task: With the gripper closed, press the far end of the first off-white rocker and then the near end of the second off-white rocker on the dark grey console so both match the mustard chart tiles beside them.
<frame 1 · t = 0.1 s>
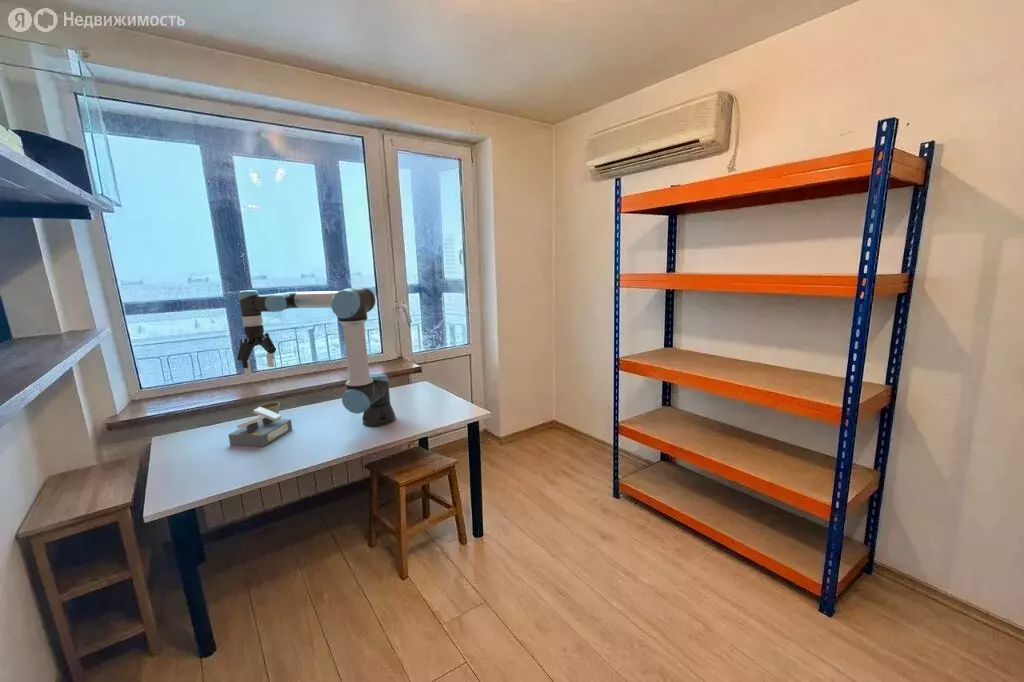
hand: (260, 370, 189), 28 cm above the table, fingers open, 13 cm apart
flower pot: (271, 422, 201), on the table
rocker B: (251, 421, 177), point 9 cm above the table, hinge at 20.0°
console: (262, 437, 183), on the table
rocker A: (267, 413, 186), point 9 cm above the table, hinge at -20.0°
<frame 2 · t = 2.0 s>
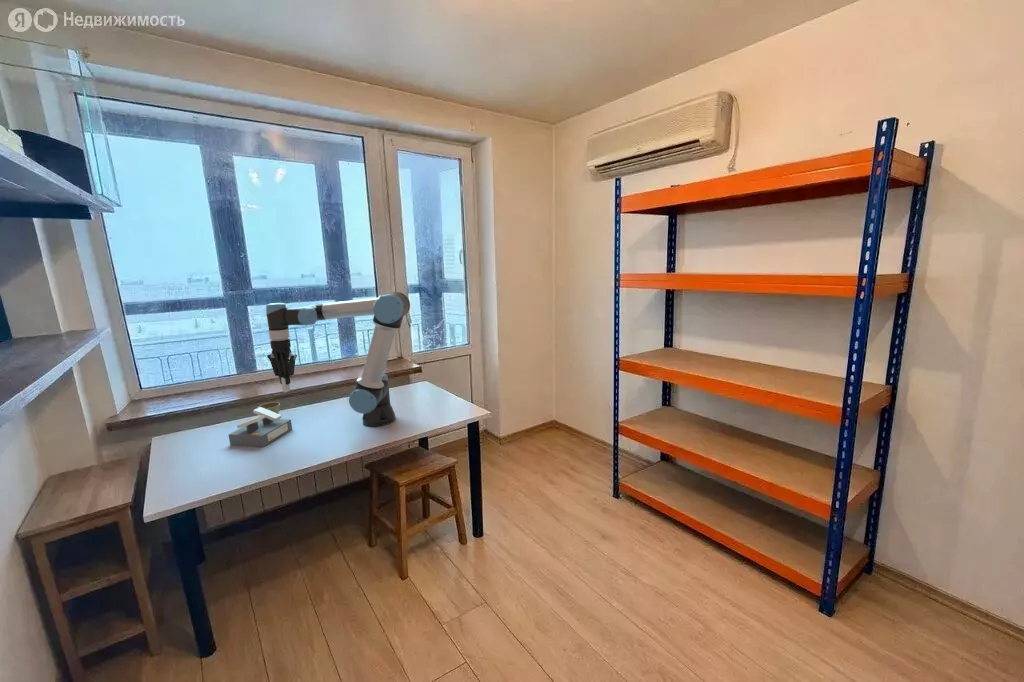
hand: (286, 391, 182), 20 cm above the table, fingers closed
nothing on the table moved.
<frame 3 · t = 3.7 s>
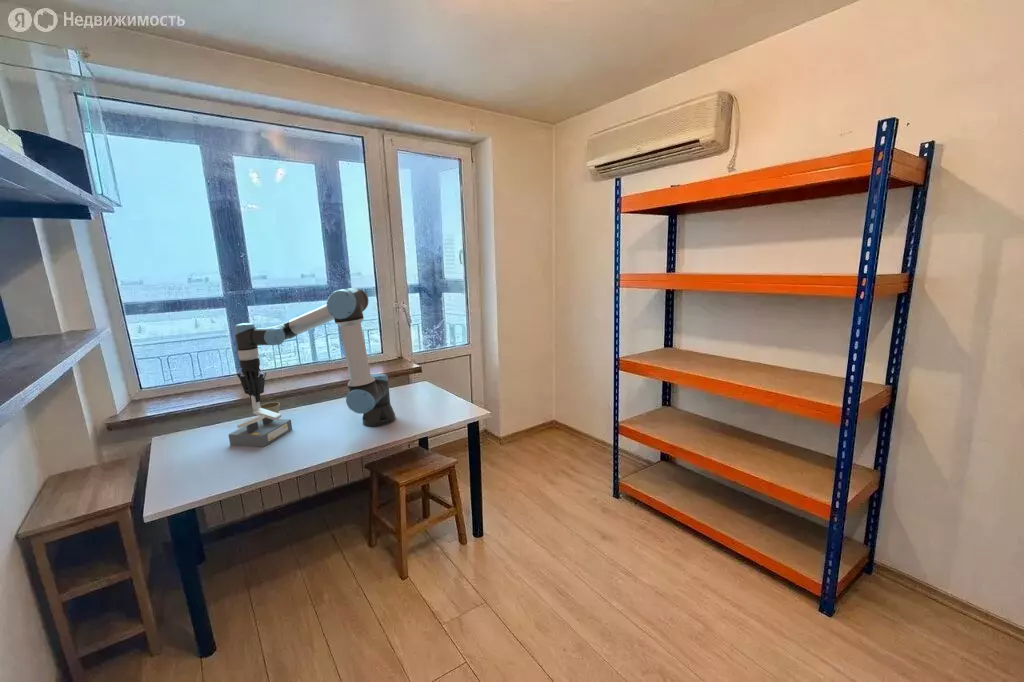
hand: (256, 408, 186), 12 cm above the table, fingers closed
rocker A: (267, 413, 186), point 9 cm above the table, hinge at -15.0°, touching gripper
everything else where it was.
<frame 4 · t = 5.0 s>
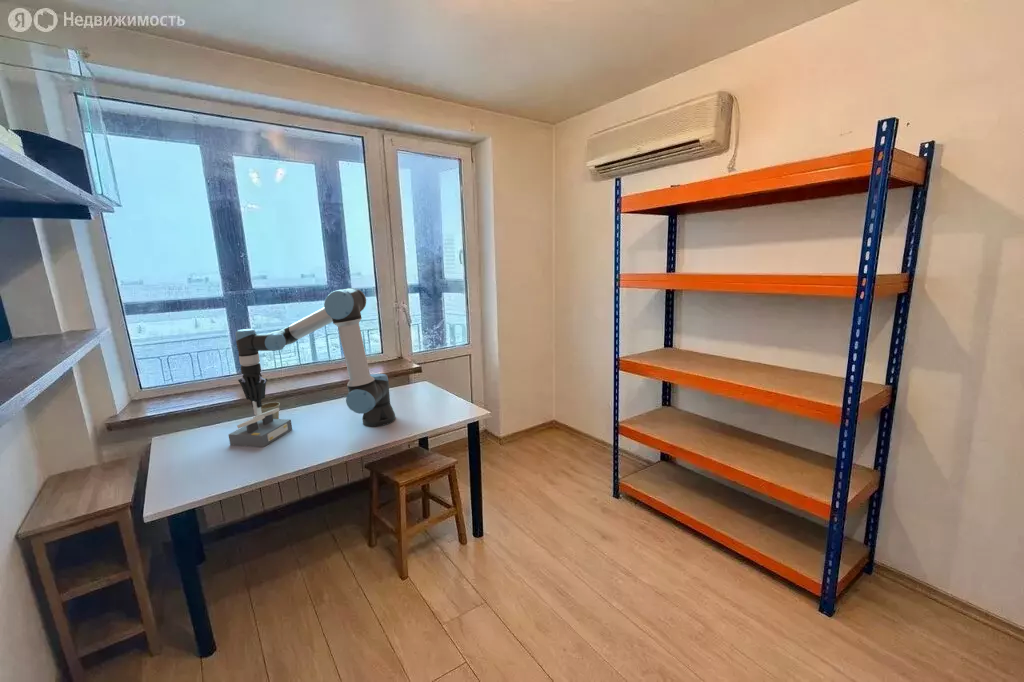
hand: (258, 414, 187), 9 cm above the table, fingers closed
rocker A: (266, 413, 186), point 9 cm above the table, hinge at 19.3°
everything else where it was.
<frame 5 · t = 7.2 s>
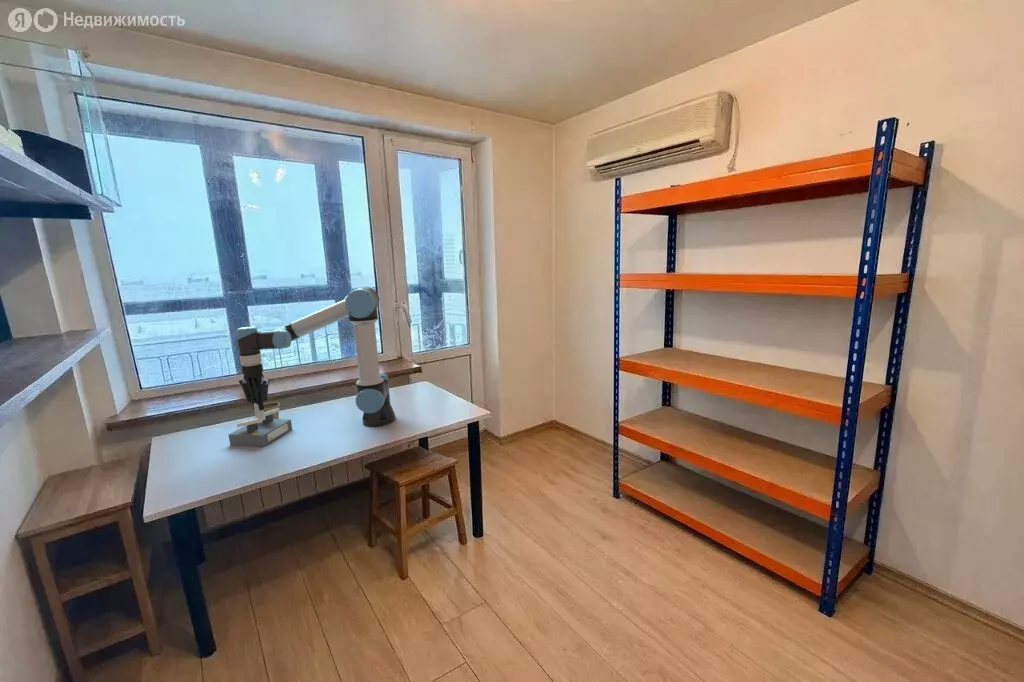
hand: (259, 417, 176), 12 cm above the table, fingers closed
rocker B: (251, 421, 177), point 9 cm above the table, hinge at 13.5°
everything else where it was.
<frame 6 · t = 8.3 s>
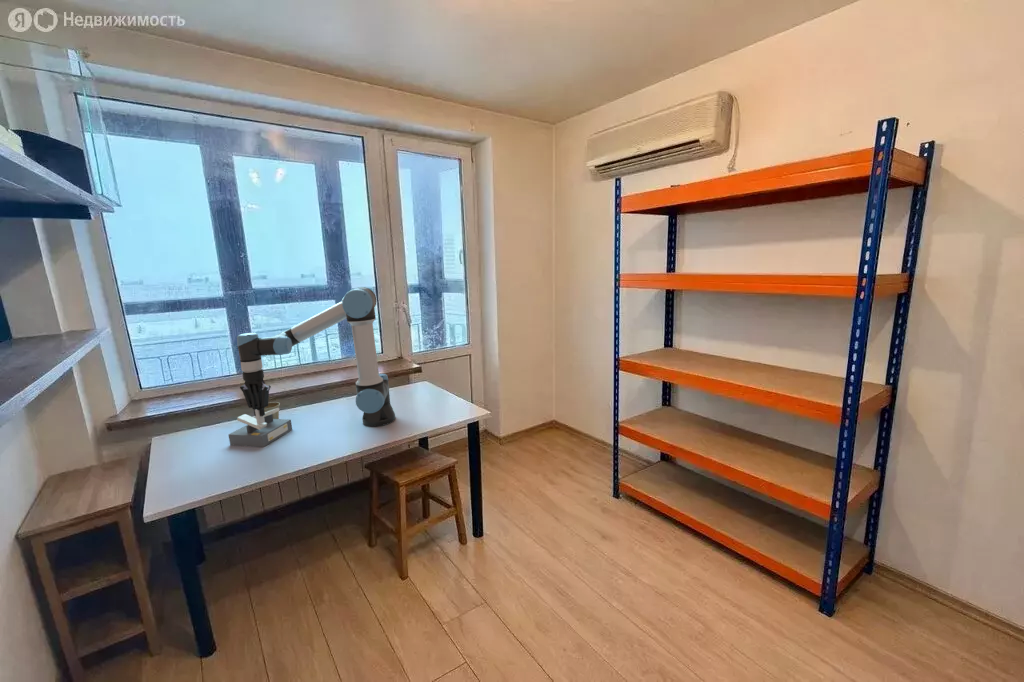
hand: (261, 422, 177), 9 cm above the table, fingers closed
rocker B: (252, 421, 177), point 9 cm above the table, hinge at -20.9°, touching gripper
everything else where it was.
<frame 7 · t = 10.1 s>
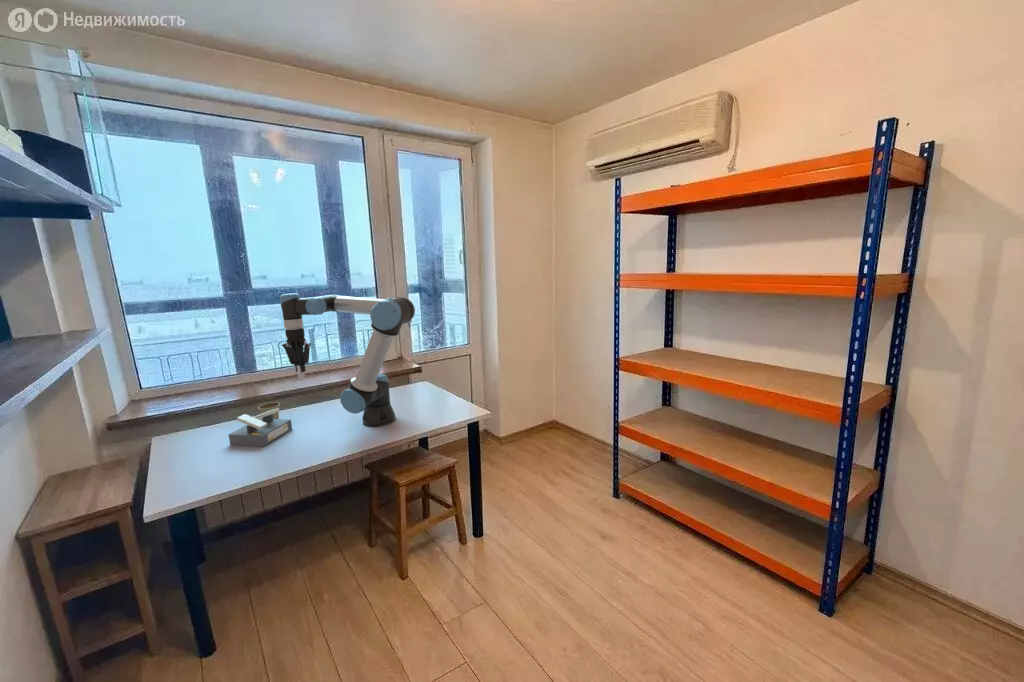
hand: (301, 378, 188), 24 cm above the table, fingers closed
rocker B: (252, 421, 177), point 9 cm above the table, hinge at -20.9°
everything else where it was.
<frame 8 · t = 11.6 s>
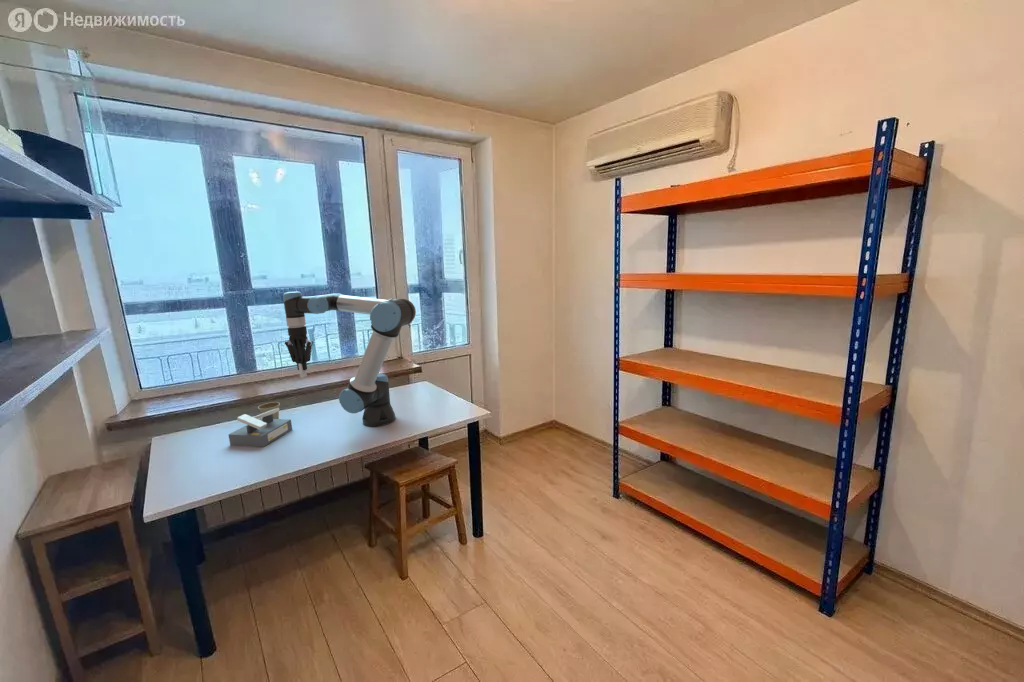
hand: (303, 376, 189), 24 cm above the table, fingers closed
nothing on the table moved.
at the end: rocker A at +19° (first picture: -20°); rocker B at -21° (first picture: +20°) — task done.
